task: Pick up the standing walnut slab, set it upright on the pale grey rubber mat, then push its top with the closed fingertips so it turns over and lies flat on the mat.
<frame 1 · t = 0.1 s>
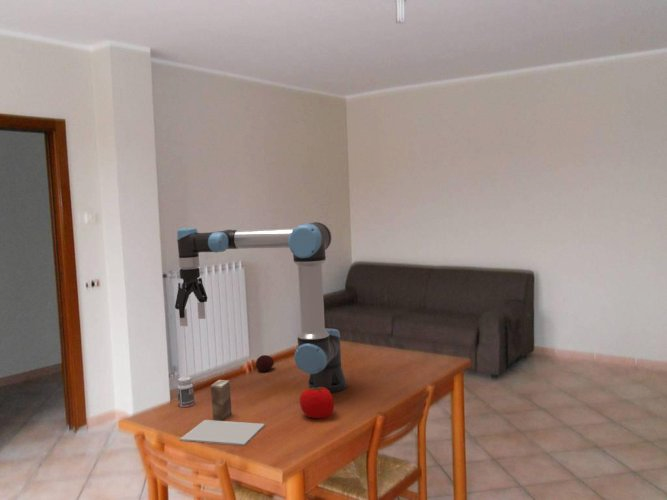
hand: (193, 322, 228), 28 cm above the table, fingers open, 13 cm apart
mat: (223, 432, 188), on the table
slab: (222, 416, 203), on the table
pill bottle: (186, 405, 217), on the table
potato: (265, 371, 256), on the table
tomato: (318, 416, 199), on the table
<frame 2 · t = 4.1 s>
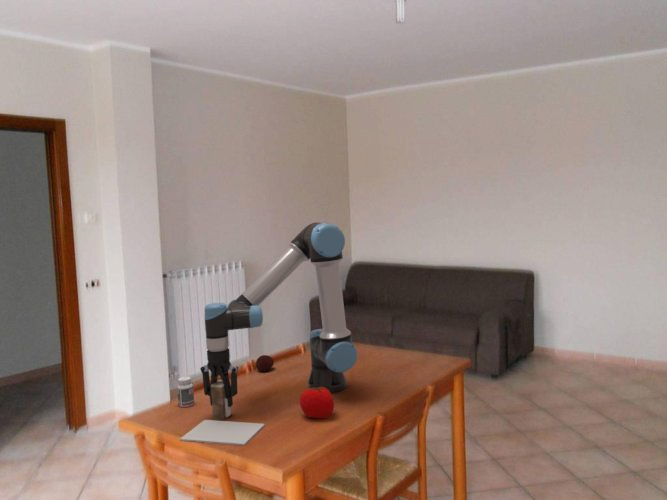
hand: (222, 414, 202), 1 cm above the table, fingers closed on slab, 4 cm apart
slab: (222, 416, 203), on the table, touching gripper
everything else where it was.
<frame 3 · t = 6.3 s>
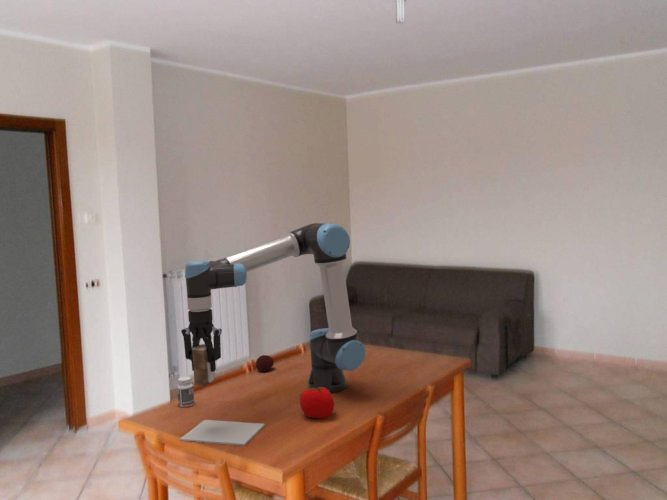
hand: (204, 380, 189), 17 cm above the table, fingers closed on slab, 4 cm apart
slab: (204, 382, 189), point 16 cm above the table, touching gripper
everything else where it was.
when the fingers open (2 cm above the table, at t = 8.6 s): slab drops 1 cm, resting on mat.
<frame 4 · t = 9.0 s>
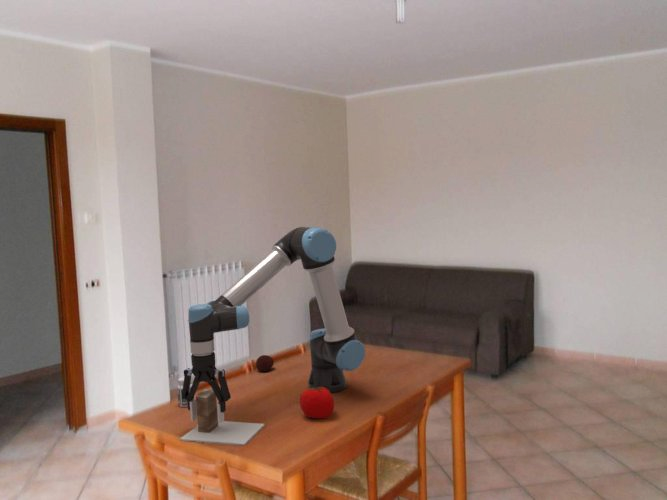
hand: (207, 420, 190), 3 cm above the table, fingers open, 9 cm apart
slab: (208, 428, 191), point 1 cm above the table, touching mat
everything else where it was.
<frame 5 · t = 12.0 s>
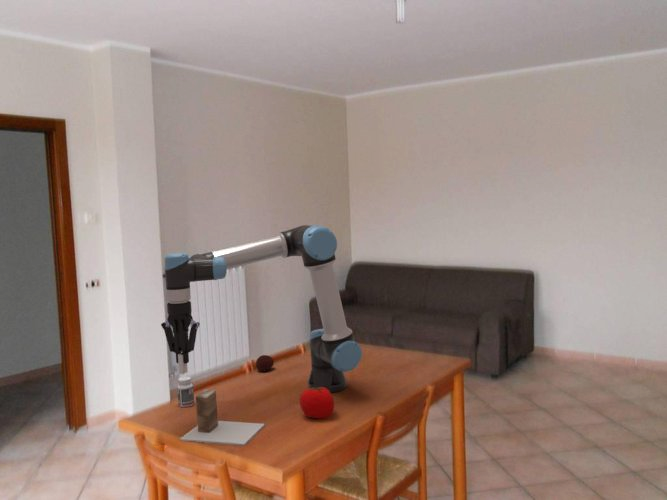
hand: (183, 372, 191), 19 cm above the table, fingers closed
nothing on the table moved.
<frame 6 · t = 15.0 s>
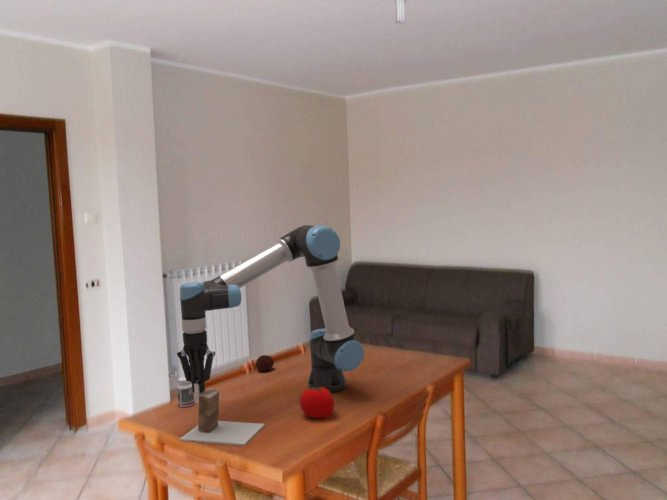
hand: (199, 402, 191), 9 cm above the table, fingers closed
slab: (208, 428, 191), point 1 cm above the table, tilted 6°, touching mat
everything else where it was.
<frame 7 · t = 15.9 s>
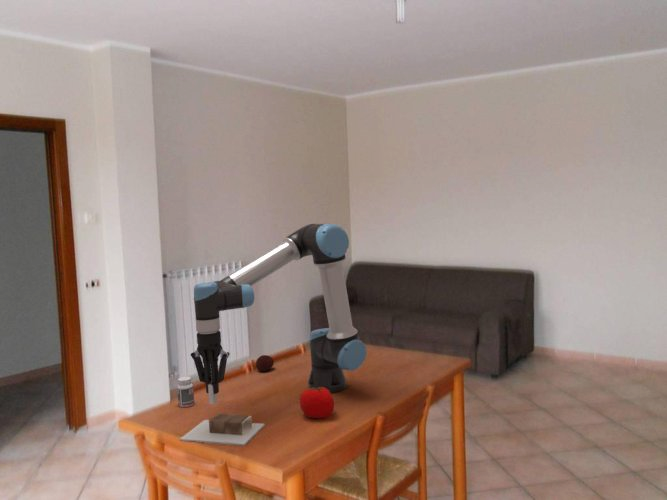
hand: (213, 403, 189), 9 cm above the table, fingers closed
slab: (213, 423, 190), point 3 cm above the table, tilted 90°, touching mat
everything else where it was.
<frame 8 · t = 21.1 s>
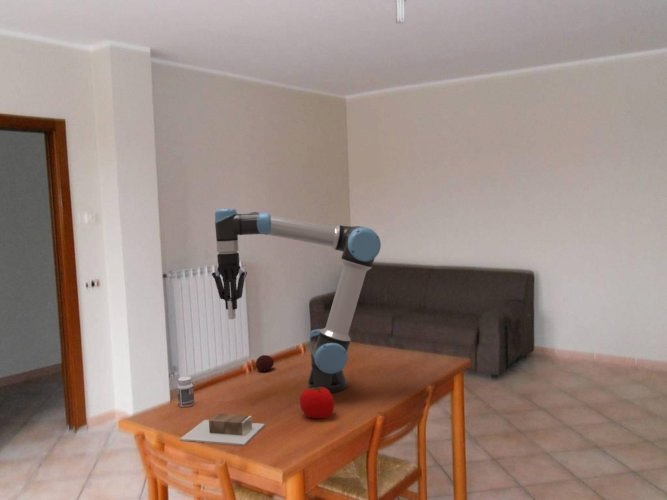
hand: (232, 318, 209), 32 cm above the table, fingers closed
nothing on the table moved.
at the end: slab tilted 90°; slab inside the target area on the mat (4.0 cm from its centre), point 2.6 cm above the mat's base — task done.
